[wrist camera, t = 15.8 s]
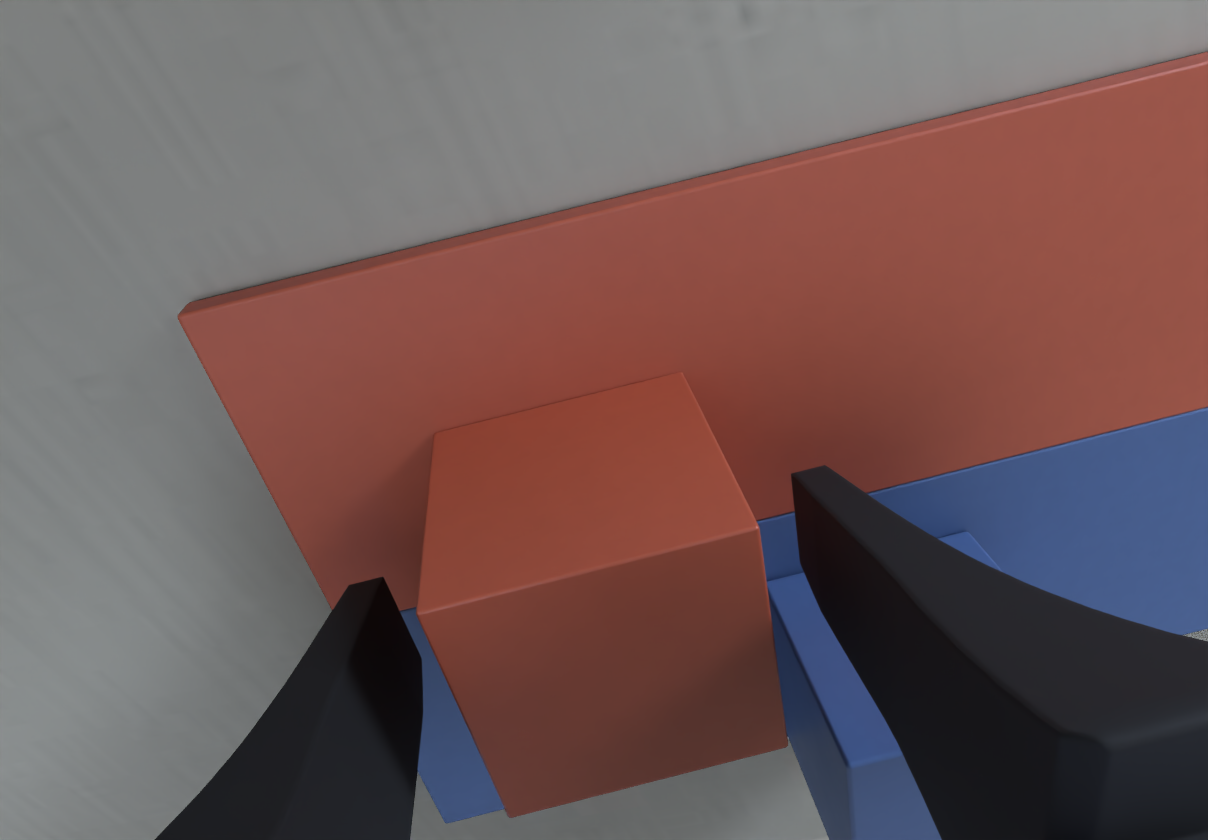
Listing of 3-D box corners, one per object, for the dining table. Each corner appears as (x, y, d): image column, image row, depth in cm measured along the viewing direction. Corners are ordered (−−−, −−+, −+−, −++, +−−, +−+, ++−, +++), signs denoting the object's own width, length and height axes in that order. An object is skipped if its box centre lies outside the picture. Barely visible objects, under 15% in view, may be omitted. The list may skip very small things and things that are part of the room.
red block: (715, 561, 17) (789, 748, 13) (501, 615, 16) (508, 820, 13) (681, 369, 14) (760, 525, 10) (432, 432, 14) (414, 613, 10)
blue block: (961, 672, 19) (1085, 852, 15) (780, 718, 19) (857, 912, 15) (967, 528, 17) (1115, 698, 13) (761, 581, 17) (846, 767, 13)
